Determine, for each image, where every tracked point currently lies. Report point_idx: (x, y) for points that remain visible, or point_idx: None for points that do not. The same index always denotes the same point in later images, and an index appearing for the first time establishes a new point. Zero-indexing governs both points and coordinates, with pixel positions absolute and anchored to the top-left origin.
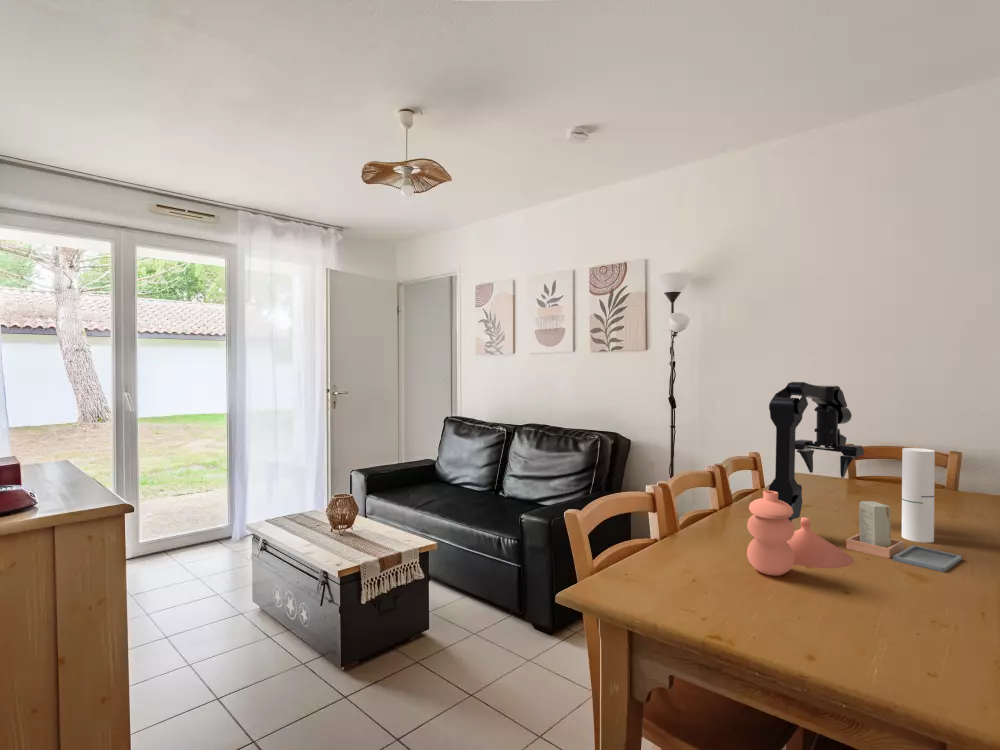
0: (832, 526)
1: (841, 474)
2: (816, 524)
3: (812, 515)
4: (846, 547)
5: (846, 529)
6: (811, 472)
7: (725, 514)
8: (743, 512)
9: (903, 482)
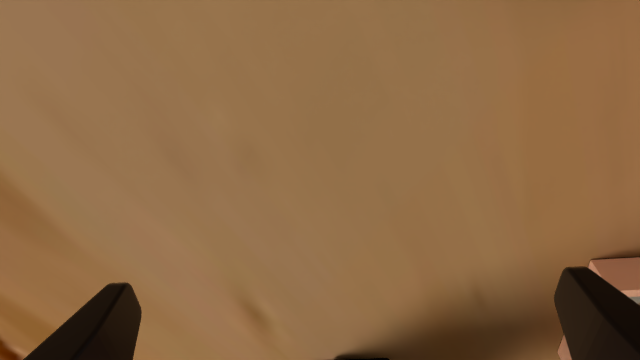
0: (420, 152)
1: (580, 350)
2: (349, 182)
3: (218, 16)
4: (559, 355)
5: (493, 146)
6: (139, 310)
7: (46, 335)
8: (32, 266)
9: None
